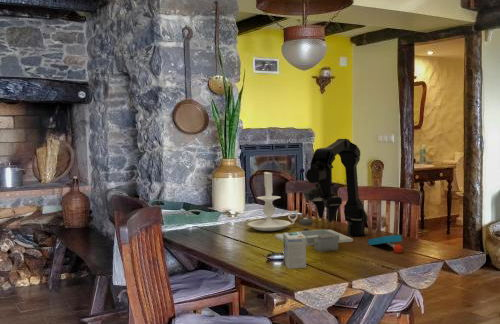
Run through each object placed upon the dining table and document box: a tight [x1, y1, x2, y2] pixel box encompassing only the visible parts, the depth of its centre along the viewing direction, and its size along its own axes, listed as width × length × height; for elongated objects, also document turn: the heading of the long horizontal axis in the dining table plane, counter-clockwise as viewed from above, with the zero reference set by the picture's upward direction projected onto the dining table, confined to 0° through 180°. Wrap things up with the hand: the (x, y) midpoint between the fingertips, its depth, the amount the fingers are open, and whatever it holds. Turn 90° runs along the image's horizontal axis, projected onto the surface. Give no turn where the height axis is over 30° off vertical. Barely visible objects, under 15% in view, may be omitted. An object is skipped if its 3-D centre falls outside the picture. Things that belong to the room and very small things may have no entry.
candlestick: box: [247, 171, 299, 232], centre depth 261 cm, size 21×25×28 cm
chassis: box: [274, 228, 354, 247], centre depth 237 cm, size 27×22×3 cm
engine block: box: [313, 234, 339, 253], centre depth 217 cm, size 8×5×6 cm, turn 108°
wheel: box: [298, 217, 313, 226], centre depth 244 cm, size 6×6×3 cm
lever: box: [367, 234, 403, 254], centre depth 216 cm, size 7×7×18 cm
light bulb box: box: [282, 231, 307, 270], centre depth 195 cm, size 11×7×11 cm, turn 5°
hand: (325, 220), depth 217 cm, fingers open, 9 cm apart
